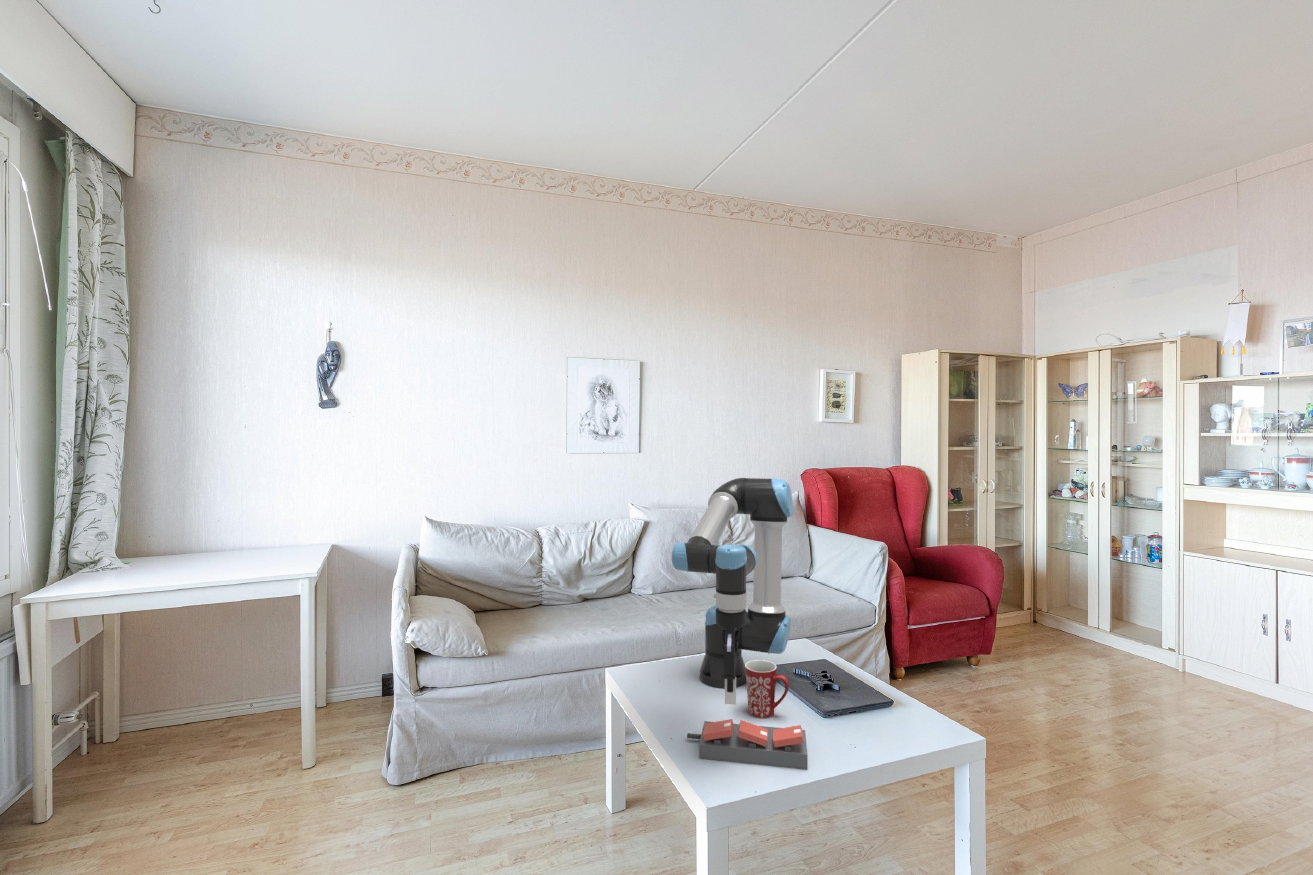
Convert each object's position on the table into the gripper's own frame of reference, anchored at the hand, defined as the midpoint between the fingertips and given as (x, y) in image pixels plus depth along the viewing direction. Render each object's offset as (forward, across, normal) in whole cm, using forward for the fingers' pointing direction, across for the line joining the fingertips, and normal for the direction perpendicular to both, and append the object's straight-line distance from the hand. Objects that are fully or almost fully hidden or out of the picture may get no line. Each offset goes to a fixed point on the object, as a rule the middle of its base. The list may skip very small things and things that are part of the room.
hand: (730, 702), depth 155 cm
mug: (+13, -24, +9) cm, 28 cm away
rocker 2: (+7, 0, +14) cm, 16 cm away
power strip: (+13, -3, +4) cm, 14 cm away
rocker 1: (+7, 0, -3) cm, 8 cm away
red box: (+7, 0, +6) cm, 9 cm away
